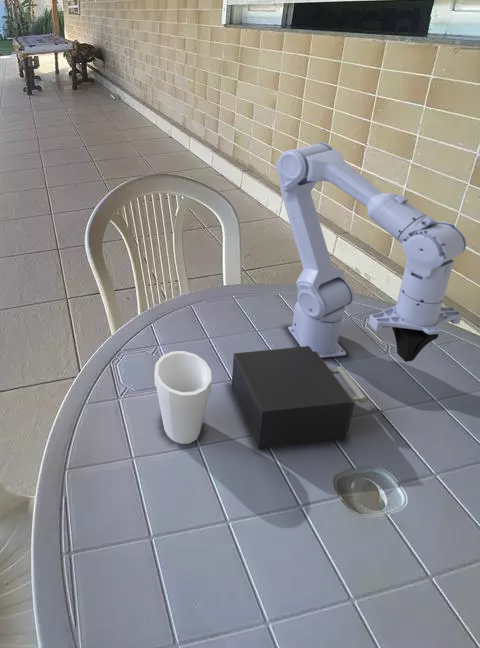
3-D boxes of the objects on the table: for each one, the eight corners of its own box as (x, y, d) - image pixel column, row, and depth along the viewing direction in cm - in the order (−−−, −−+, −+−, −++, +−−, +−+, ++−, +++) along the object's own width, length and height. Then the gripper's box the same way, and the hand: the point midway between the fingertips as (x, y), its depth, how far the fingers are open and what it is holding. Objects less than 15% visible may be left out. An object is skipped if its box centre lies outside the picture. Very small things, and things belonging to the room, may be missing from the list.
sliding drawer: (332, 376, 83) (337, 349, 80) (372, 429, 72) (379, 400, 69) (244, 385, 82) (246, 358, 79) (270, 440, 71) (274, 410, 69)
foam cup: (213, 414, 77) (216, 360, 73) (203, 461, 70) (205, 402, 65) (163, 398, 81) (163, 345, 77) (148, 440, 74) (146, 384, 69)
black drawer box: (303, 379, 83) (309, 345, 80) (342, 439, 71) (350, 402, 68) (231, 387, 83) (233, 353, 80) (258, 448, 71) (262, 411, 68)
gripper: (396, 313, 65) (380, 379, 70) (486, 304, 66) (464, 370, 71) (366, 285, 72) (353, 348, 77) (448, 278, 72) (430, 340, 77)
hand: (404, 357), depth 74 cm, fingers closed
